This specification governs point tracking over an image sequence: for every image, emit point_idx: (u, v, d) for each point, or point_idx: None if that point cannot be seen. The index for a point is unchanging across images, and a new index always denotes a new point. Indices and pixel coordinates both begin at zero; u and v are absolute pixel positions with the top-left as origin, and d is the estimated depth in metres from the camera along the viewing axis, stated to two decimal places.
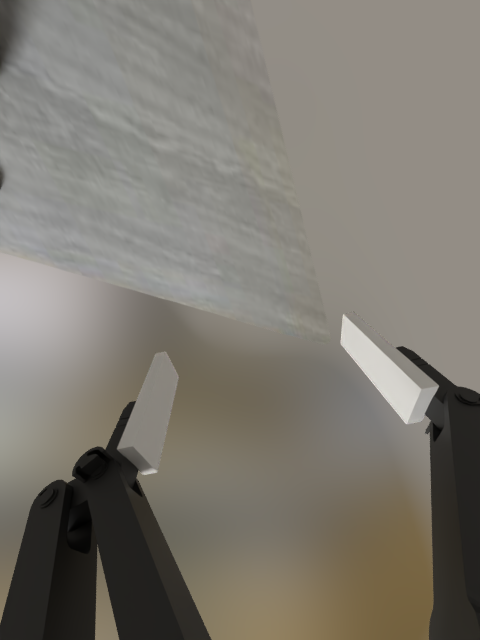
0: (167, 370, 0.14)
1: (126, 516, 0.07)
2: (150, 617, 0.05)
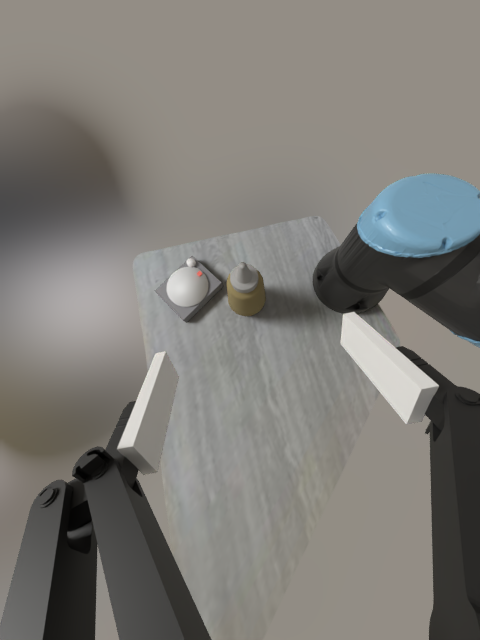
0: (167, 370, 0.14)
1: (126, 516, 0.07)
2: (150, 617, 0.05)
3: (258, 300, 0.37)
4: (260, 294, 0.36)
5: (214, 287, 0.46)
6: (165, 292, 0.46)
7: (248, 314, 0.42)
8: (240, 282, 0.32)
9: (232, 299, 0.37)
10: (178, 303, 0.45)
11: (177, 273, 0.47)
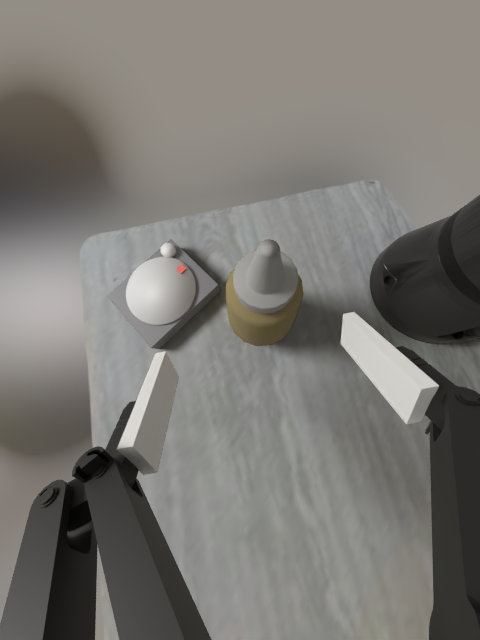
0: (167, 370, 0.14)
1: (126, 516, 0.07)
2: (150, 617, 0.05)
3: (288, 324, 0.18)
4: (295, 314, 0.17)
5: (206, 292, 0.27)
6: (124, 299, 0.28)
7: (264, 344, 0.23)
8: (257, 291, 0.14)
9: (236, 322, 0.18)
10: (144, 318, 0.27)
11: (145, 267, 0.28)
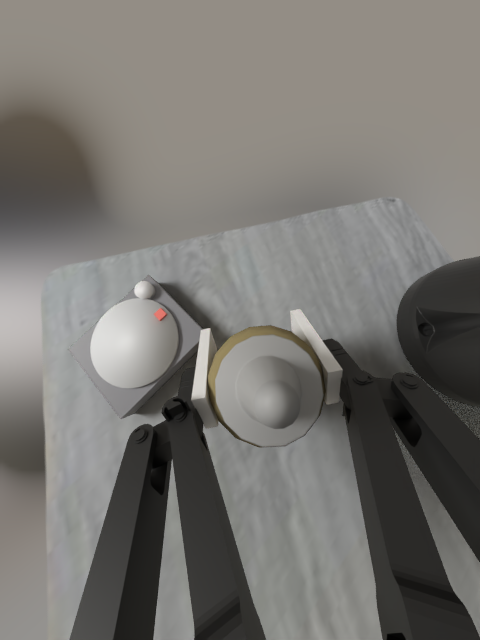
0: (212, 344, 0.16)
1: (197, 463, 0.08)
2: (211, 557, 0.06)
3: None
4: None
5: (191, 344, 0.21)
6: (89, 352, 0.22)
7: None
8: (255, 419, 0.08)
9: None
10: (112, 380, 0.21)
11: (115, 312, 0.22)
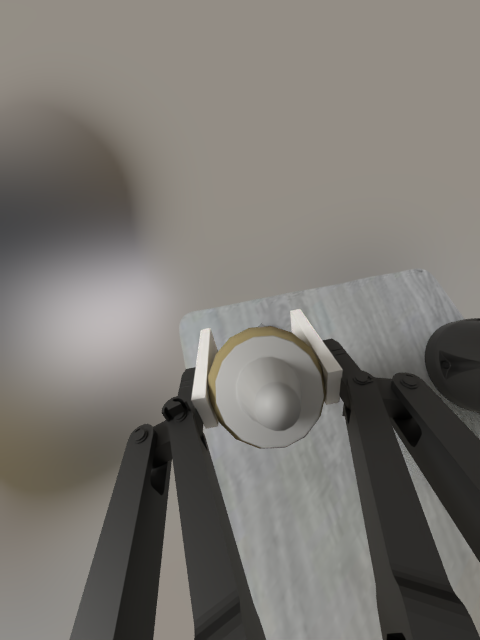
0: (212, 344, 0.16)
1: (197, 462, 0.08)
2: (211, 557, 0.06)
3: None
4: None
5: None
6: None
7: None
8: (255, 420, 0.08)
9: None
10: None
11: None
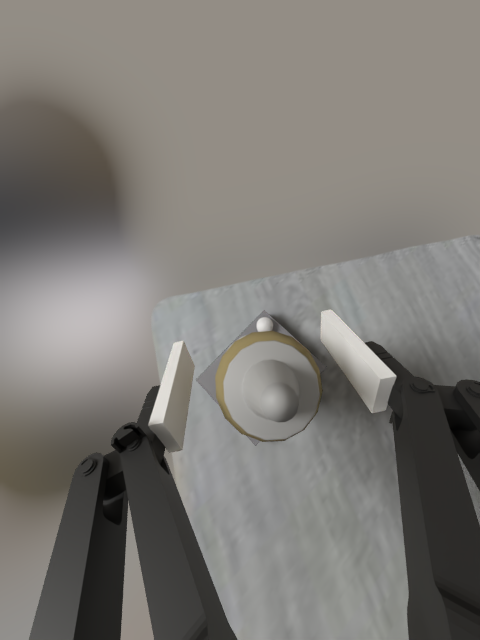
0: (185, 358, 0.15)
1: (156, 490, 0.08)
2: (175, 587, 0.06)
3: None
4: None
5: None
6: None
7: None
8: (259, 416, 0.09)
9: None
10: None
11: None
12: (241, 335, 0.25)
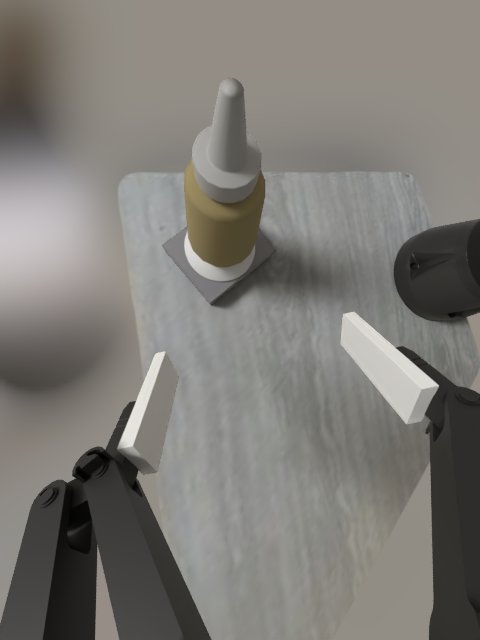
0: (167, 370, 0.14)
1: (126, 516, 0.07)
2: (150, 617, 0.05)
3: (247, 231, 0.18)
4: (255, 218, 0.17)
5: (264, 255, 0.29)
6: (181, 251, 0.27)
7: (222, 263, 0.23)
8: (217, 165, 0.13)
9: (194, 220, 0.17)
10: (204, 273, 0.27)
11: None
12: None
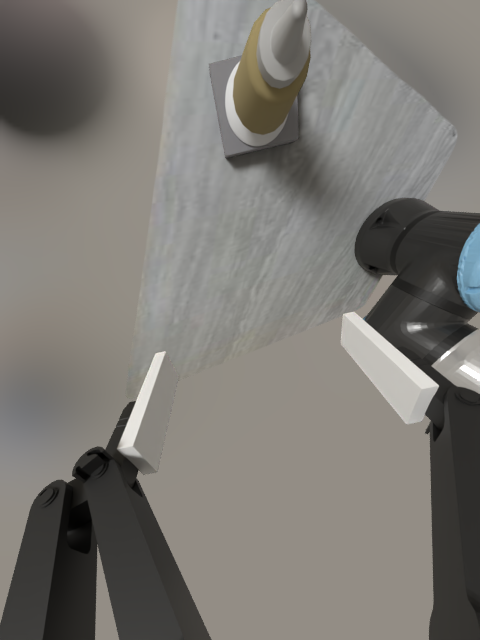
0: (167, 370, 0.14)
1: (126, 516, 0.07)
2: (150, 617, 0.05)
3: (274, 113, 0.23)
4: (283, 107, 0.22)
5: (287, 138, 0.32)
6: (223, 84, 0.29)
7: (249, 126, 0.28)
8: (273, 50, 0.18)
9: (243, 76, 0.21)
10: (232, 124, 0.31)
11: None
12: None
